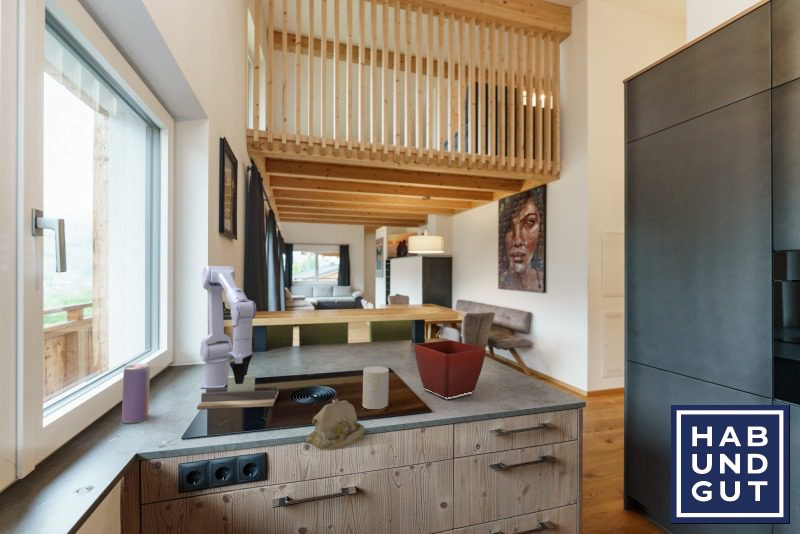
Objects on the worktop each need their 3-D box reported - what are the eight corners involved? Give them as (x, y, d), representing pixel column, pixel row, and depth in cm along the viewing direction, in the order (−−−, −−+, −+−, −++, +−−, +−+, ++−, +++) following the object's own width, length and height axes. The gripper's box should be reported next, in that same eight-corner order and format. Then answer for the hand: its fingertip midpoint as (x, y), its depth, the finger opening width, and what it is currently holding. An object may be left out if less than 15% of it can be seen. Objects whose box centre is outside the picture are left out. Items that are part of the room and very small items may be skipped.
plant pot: (486, 396, 127) (487, 348, 128) (446, 406, 117) (447, 354, 117) (450, 381, 143) (451, 339, 144) (411, 389, 132) (412, 344, 133)
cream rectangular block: (228, 397, 117) (228, 376, 117) (254, 395, 119) (255, 374, 119) (227, 399, 115) (227, 377, 115) (253, 397, 117) (254, 376, 117)
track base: (210, 395, 121) (210, 385, 121) (278, 393, 125) (278, 383, 125) (197, 409, 109) (197, 397, 109) (272, 406, 113) (273, 394, 113)
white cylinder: (357, 407, 114) (358, 369, 114) (375, 401, 120) (376, 365, 120) (374, 414, 108) (375, 374, 109) (393, 407, 114) (394, 369, 115)
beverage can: (134, 425, 97) (136, 369, 97) (116, 422, 98) (118, 367, 99) (153, 416, 103) (155, 364, 103) (136, 414, 104) (138, 362, 104)
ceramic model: (318, 455, 84) (319, 412, 84) (300, 436, 93) (302, 398, 93) (369, 439, 92) (370, 400, 92) (349, 424, 101) (350, 388, 101)
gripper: (232, 334, 123) (231, 374, 123) (224, 343, 109) (223, 387, 109) (254, 334, 125) (253, 373, 125) (249, 342, 111) (248, 386, 111)
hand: (241, 380), depth 117 cm, fingers open, 7 cm apart
